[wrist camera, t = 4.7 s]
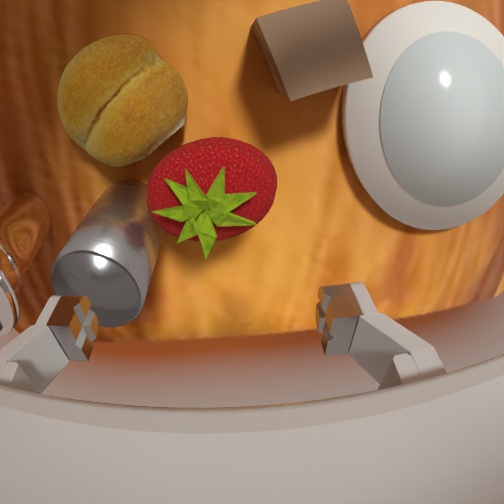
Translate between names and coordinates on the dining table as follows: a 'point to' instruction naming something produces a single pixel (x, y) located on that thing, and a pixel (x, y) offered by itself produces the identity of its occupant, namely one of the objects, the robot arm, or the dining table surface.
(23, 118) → the dining table surface
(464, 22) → the plate
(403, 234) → the dining table surface
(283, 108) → the dining table surface
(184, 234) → the strawberry
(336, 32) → the walnut block
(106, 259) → the drinking glass
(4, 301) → the cup with straw
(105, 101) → the bread roll
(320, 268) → the dining table surface
